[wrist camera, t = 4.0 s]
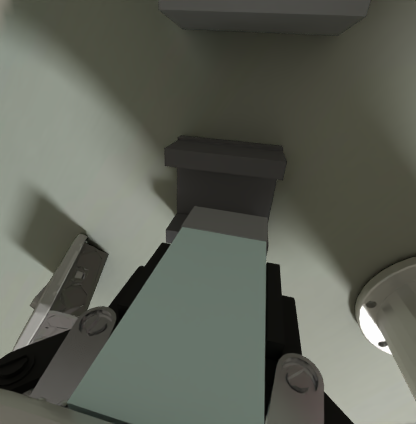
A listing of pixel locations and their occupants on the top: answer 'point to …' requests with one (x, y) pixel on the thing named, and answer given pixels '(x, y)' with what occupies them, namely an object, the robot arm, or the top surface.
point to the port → (267, 15)
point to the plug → (190, 333)
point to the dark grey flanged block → (223, 177)
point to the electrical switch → (64, 293)
